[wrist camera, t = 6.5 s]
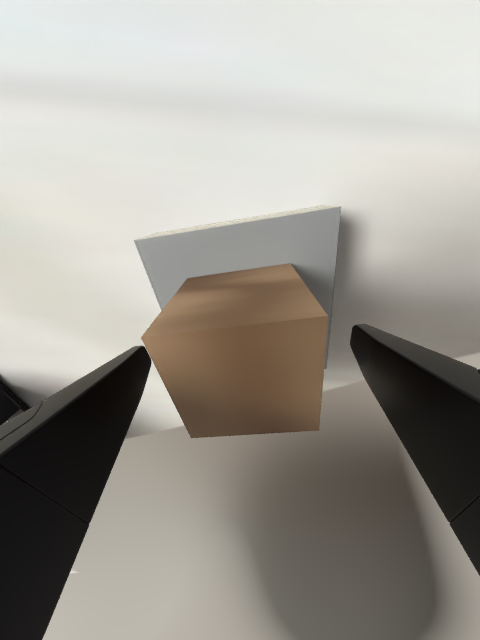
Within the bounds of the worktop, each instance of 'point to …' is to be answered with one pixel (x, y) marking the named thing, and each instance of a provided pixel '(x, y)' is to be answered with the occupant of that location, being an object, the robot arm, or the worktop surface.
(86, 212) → the worktop surface
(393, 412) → the robot arm
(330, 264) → the base
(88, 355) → the worktop surface
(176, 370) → the walnut cube
